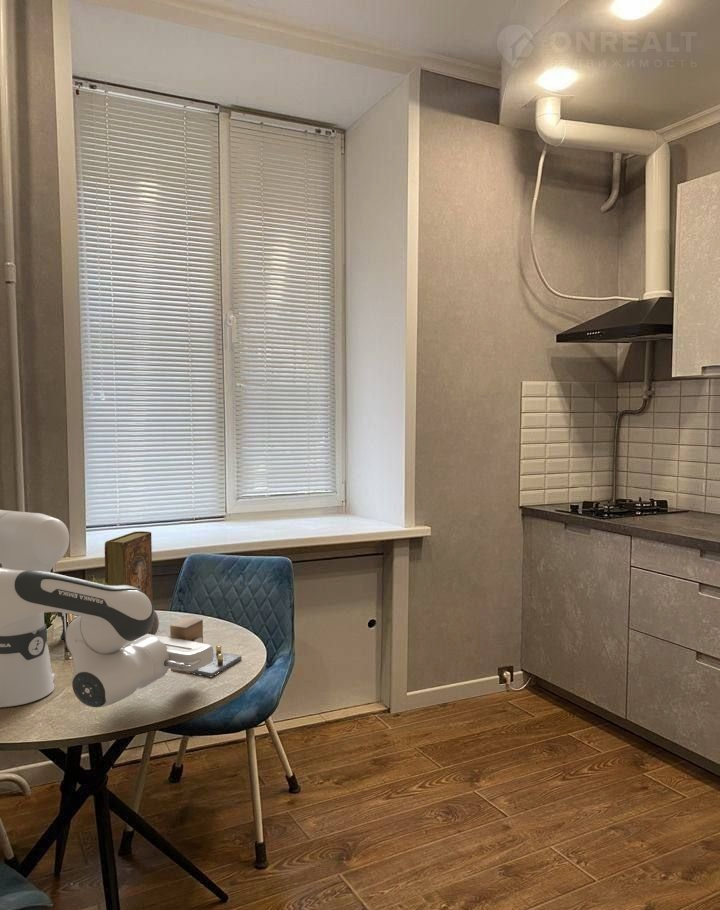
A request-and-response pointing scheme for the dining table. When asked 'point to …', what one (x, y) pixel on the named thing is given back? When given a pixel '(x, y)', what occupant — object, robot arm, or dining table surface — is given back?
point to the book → (130, 561)
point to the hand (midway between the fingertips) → (189, 639)
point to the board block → (186, 632)
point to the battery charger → (65, 623)
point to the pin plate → (218, 663)
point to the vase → (154, 625)
